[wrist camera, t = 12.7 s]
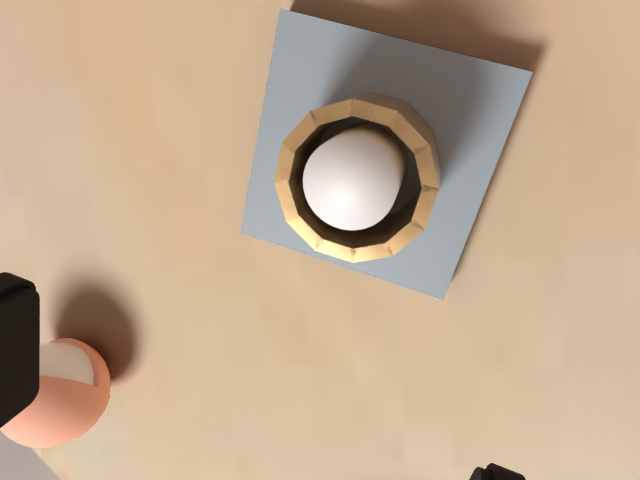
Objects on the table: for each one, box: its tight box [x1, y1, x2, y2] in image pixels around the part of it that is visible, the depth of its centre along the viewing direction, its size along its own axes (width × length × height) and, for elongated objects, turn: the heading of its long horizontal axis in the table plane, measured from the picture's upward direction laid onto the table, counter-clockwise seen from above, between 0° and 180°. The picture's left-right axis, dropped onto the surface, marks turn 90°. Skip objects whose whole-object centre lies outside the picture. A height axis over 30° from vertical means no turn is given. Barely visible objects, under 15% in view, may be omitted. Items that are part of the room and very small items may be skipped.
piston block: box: [241, 8, 533, 300], centre depth 25 cm, size 13×13×6 cm
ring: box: [274, 92, 442, 263], centre depth 24 cm, size 7×7×5 cm
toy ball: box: [0, 338, 110, 448], centre depth 36 cm, size 8×8×8 cm
